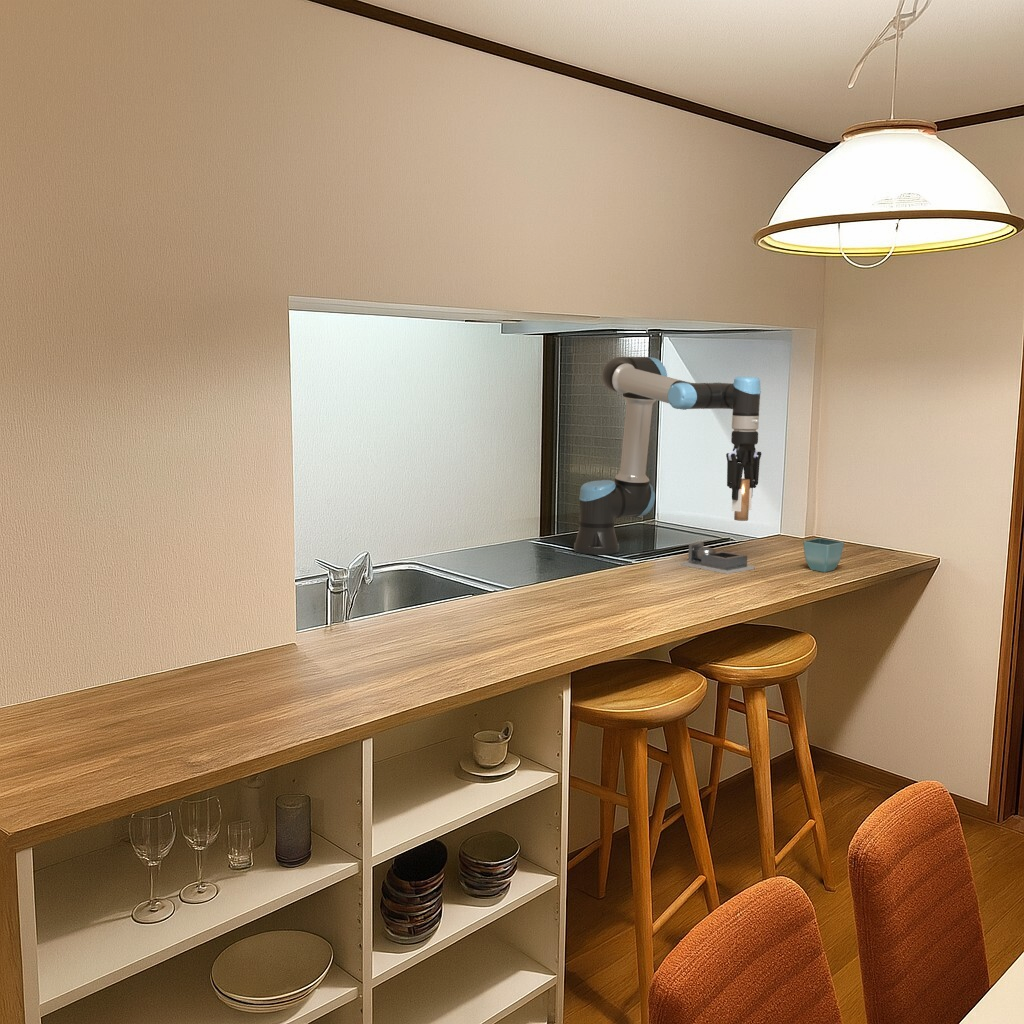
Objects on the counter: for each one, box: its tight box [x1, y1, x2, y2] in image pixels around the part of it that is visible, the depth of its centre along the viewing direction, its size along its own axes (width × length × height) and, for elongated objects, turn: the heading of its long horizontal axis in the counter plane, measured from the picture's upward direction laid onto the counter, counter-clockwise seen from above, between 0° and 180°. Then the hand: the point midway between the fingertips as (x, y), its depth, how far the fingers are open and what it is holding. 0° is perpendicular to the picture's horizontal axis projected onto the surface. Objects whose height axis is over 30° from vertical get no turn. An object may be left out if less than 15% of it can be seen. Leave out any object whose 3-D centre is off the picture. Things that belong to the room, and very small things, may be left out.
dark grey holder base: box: [680, 541, 755, 575], centre depth 301 cm, size 18×13×6 cm
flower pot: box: [803, 537, 845, 573], centre depth 296 cm, size 9×9×9 cm
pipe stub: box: [733, 477, 750, 522], centre depth 286 cm, size 4×4×12 cm
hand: (741, 510), depth 286 cm, fingers closed on pipe stub, 4 cm apart
